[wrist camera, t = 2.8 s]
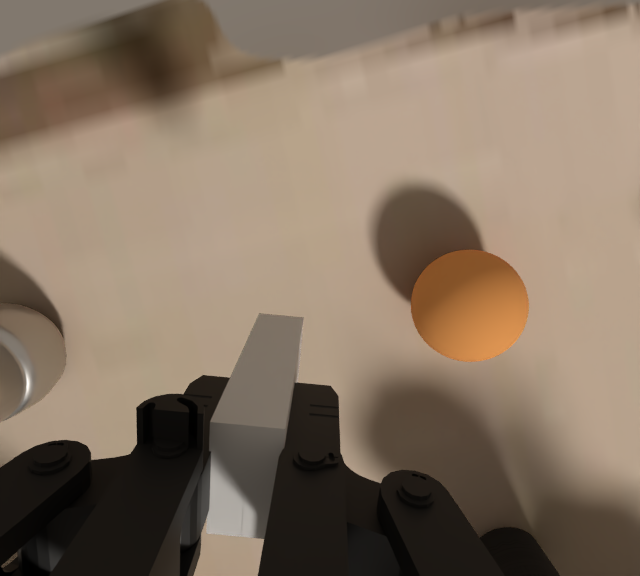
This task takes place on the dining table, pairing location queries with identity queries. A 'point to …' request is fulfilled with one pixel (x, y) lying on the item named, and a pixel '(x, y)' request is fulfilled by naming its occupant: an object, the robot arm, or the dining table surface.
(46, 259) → the dining table surface
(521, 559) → the drinking cup
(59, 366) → the plastic bottle
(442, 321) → the ball
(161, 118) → the dining table surface
